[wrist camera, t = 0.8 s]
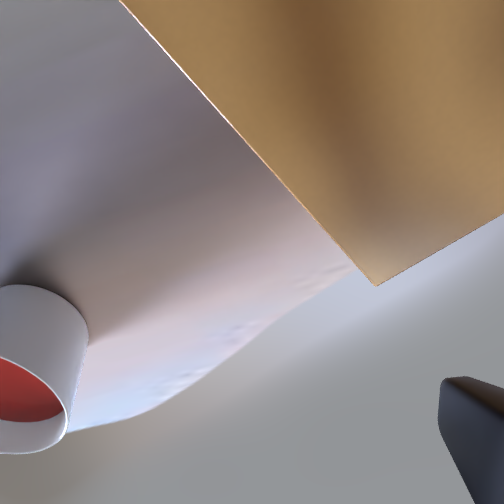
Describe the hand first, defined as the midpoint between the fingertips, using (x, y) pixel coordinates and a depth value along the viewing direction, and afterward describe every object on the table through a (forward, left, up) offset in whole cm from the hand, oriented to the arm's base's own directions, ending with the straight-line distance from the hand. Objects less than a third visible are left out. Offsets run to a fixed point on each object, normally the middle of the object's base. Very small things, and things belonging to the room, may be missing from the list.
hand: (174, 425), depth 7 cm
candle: (+19, +3, -16) cm, 25 cm away
